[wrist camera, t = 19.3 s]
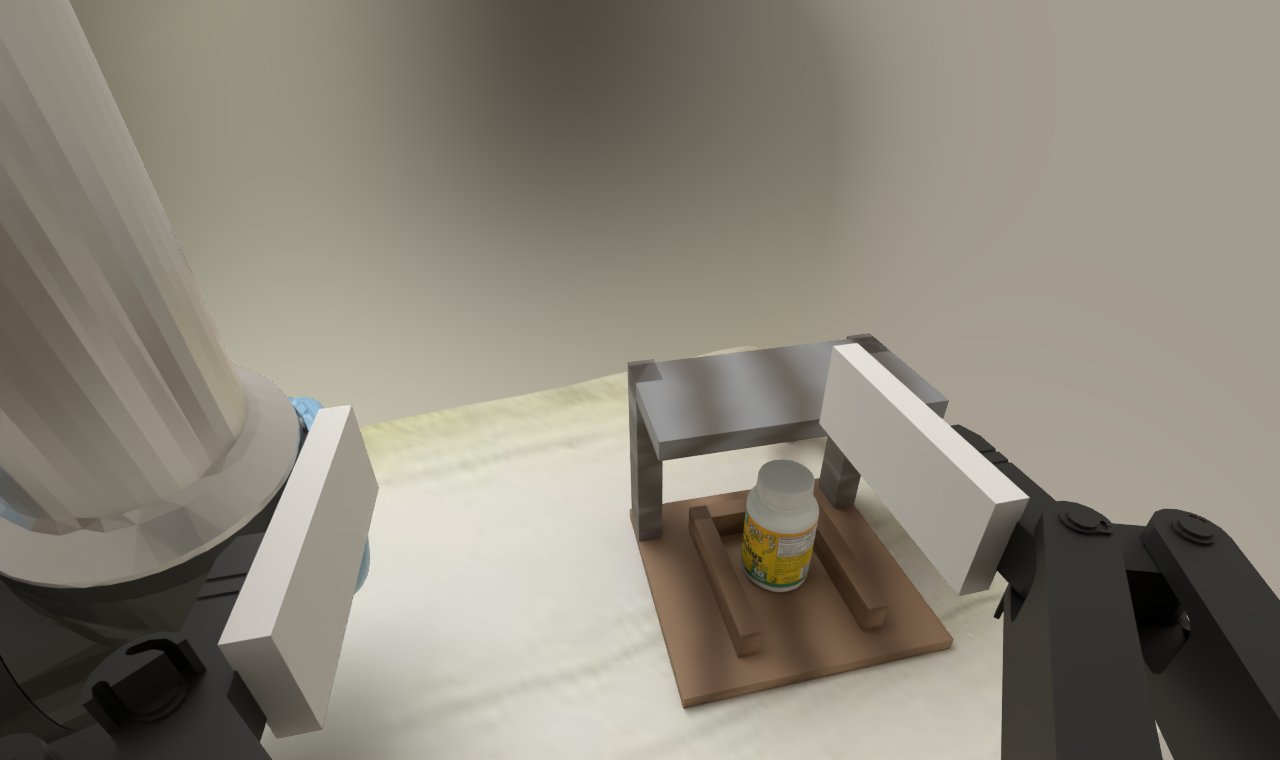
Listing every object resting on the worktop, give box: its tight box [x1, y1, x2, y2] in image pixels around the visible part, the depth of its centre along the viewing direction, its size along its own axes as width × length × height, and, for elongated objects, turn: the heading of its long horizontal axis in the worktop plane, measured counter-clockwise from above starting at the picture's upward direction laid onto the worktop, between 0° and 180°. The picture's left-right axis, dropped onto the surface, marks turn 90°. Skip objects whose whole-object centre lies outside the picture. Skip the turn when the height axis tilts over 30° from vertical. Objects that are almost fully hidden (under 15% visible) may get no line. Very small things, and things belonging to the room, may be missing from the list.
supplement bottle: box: [741, 460, 819, 592], centre depth 46 cm, size 5×5×10 cm
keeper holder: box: [628, 334, 954, 708], centre depth 44 cm, size 20×18×17 cm
